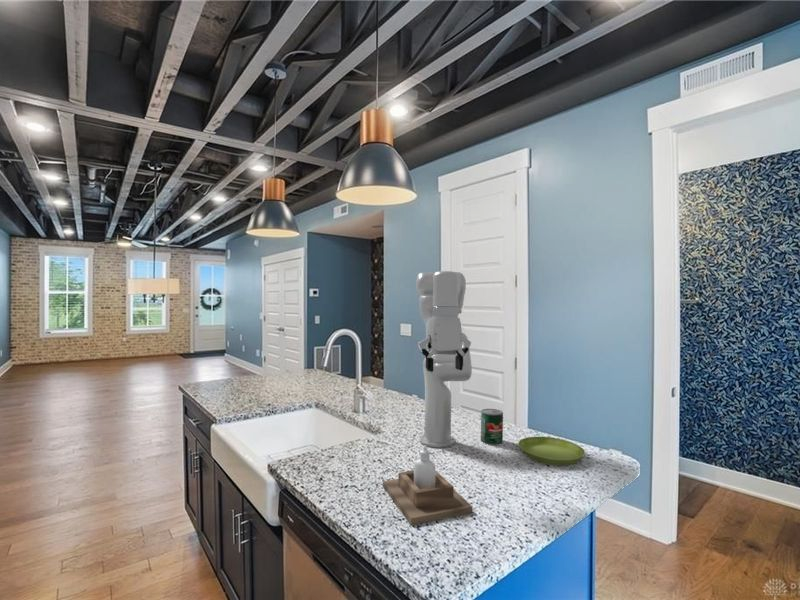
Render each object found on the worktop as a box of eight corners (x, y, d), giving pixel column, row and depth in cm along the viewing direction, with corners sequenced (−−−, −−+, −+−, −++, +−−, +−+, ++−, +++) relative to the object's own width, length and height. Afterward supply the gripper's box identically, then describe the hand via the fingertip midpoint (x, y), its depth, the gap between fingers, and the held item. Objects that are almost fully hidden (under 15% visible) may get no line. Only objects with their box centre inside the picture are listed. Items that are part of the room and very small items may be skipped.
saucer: (505, 449, 140) (506, 440, 140) (553, 442, 147) (553, 433, 147) (547, 473, 120) (547, 462, 121) (599, 464, 128) (599, 454, 128)
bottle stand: (382, 486, 109) (382, 468, 109) (435, 478, 115) (435, 460, 115) (410, 525, 91) (411, 502, 91) (472, 512, 97) (472, 491, 97)
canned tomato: (493, 447, 141) (494, 415, 141) (476, 440, 147) (476, 410, 147) (507, 442, 146) (507, 412, 146) (489, 436, 152) (490, 407, 152)
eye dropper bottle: (426, 486, 107) (427, 441, 107) (437, 496, 101) (437, 448, 102) (412, 489, 105) (412, 443, 105) (421, 499, 100) (422, 450, 100)
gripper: (464, 312, 126) (463, 367, 126) (413, 312, 120) (412, 369, 120) (477, 313, 119) (476, 371, 119) (424, 313, 113) (423, 374, 113)
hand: (444, 370), depth 120 cm, fingers open, 9 cm apart
